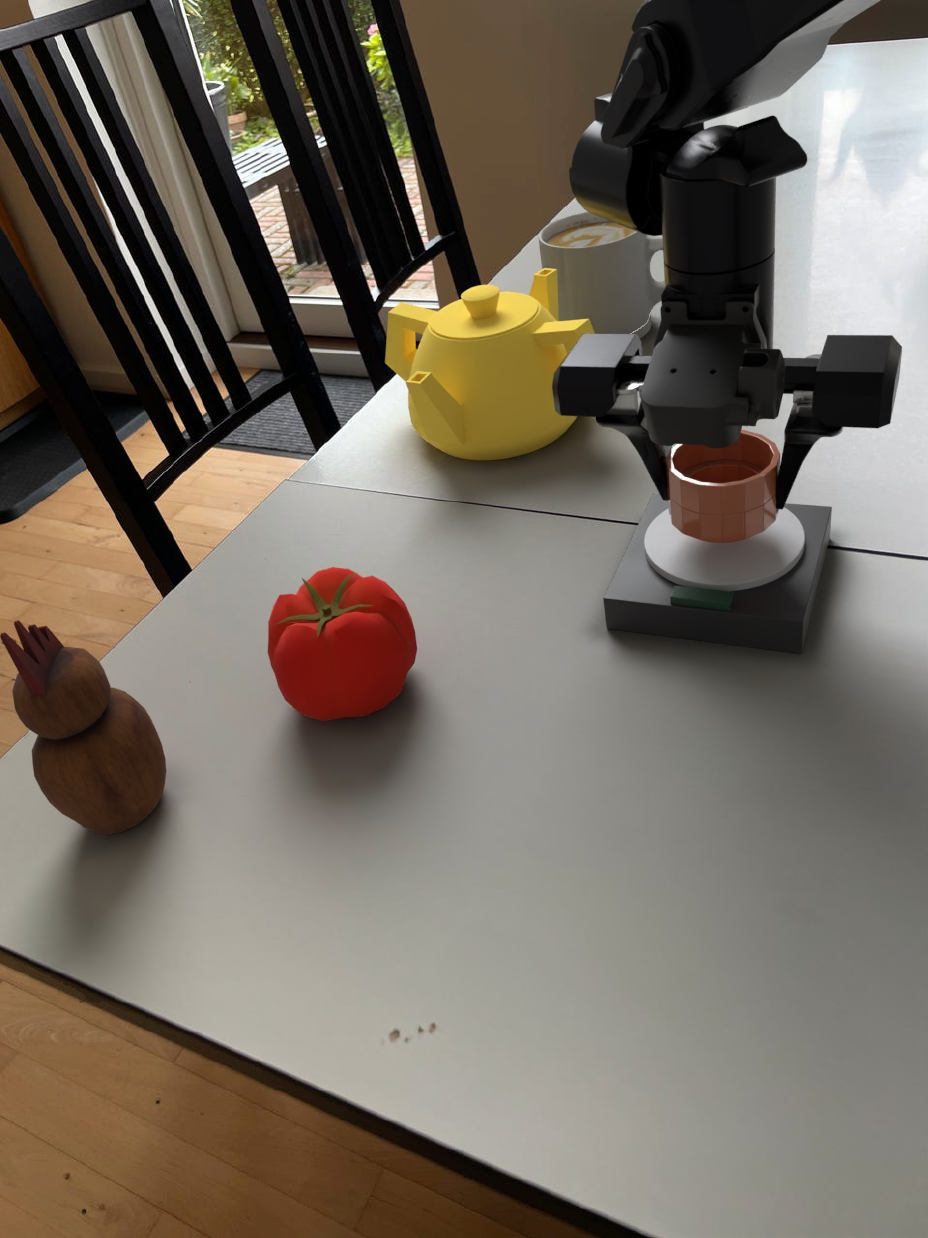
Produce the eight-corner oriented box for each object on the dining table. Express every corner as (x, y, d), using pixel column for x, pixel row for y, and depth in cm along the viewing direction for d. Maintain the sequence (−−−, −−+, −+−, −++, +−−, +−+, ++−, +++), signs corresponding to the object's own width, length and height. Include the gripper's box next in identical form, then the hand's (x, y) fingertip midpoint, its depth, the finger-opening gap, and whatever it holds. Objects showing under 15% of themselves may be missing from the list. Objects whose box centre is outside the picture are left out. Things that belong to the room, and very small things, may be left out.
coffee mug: (542, 354, 97) (529, 252, 90) (559, 311, 104) (548, 214, 98) (683, 346, 93) (679, 239, 87) (691, 302, 100) (687, 200, 94)
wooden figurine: (136, 860, 56) (15, 661, 46) (55, 843, 58) (-76, 649, 48) (198, 769, 60) (100, 572, 51) (121, 757, 62) (13, 566, 53)
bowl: (786, 493, 64) (788, 431, 61) (767, 553, 60) (768, 489, 57) (683, 486, 67) (680, 426, 64) (658, 543, 62) (654, 482, 59)
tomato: (348, 629, 69) (319, 540, 64) (451, 665, 64) (428, 571, 59) (254, 717, 63) (215, 627, 59) (359, 763, 58) (326, 669, 54)
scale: (829, 537, 67) (832, 498, 65) (801, 654, 59) (803, 613, 57) (654, 522, 72) (652, 485, 70) (606, 628, 64) (602, 590, 62)
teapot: (623, 442, 81) (611, 300, 74) (426, 494, 80) (394, 356, 73) (564, 363, 95) (549, 236, 87) (394, 407, 94) (364, 282, 86)
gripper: (500, 318, 51) (539, 563, 61) (894, 318, 44) (867, 597, 53) (569, 237, 59) (594, 466, 68) (915, 225, 51) (888, 485, 61)
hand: (722, 501), depth 62 cm, fingers closed on bowl, 7 cm apart
